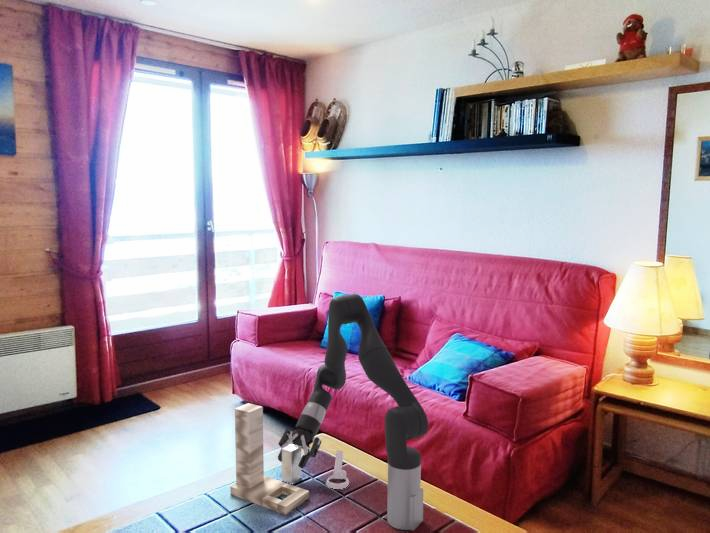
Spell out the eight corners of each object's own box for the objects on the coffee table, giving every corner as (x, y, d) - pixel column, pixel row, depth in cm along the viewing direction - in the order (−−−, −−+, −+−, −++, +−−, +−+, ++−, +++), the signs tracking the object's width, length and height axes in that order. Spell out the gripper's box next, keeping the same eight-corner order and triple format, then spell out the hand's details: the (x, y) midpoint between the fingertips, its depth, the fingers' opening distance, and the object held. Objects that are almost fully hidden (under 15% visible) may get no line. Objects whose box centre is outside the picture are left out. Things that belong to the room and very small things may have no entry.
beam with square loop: (309, 498, 168) (308, 414, 166) (285, 515, 159) (284, 425, 157) (255, 480, 180) (253, 400, 178) (230, 494, 171) (228, 411, 168)
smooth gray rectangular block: (301, 478, 181) (301, 446, 180) (291, 484, 177) (291, 451, 176) (291, 475, 183) (291, 443, 182) (282, 481, 179) (281, 448, 178)
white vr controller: (348, 456, 186) (354, 452, 180) (345, 494, 180) (351, 491, 174) (326, 453, 185) (331, 449, 179) (323, 491, 178) (328, 488, 173)
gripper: (289, 409, 189) (267, 454, 180) (323, 417, 181) (302, 464, 173) (299, 419, 194) (278, 463, 185) (333, 428, 186) (312, 474, 178)
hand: (290, 464), depth 179 cm, fingers open, 8 cm apart
